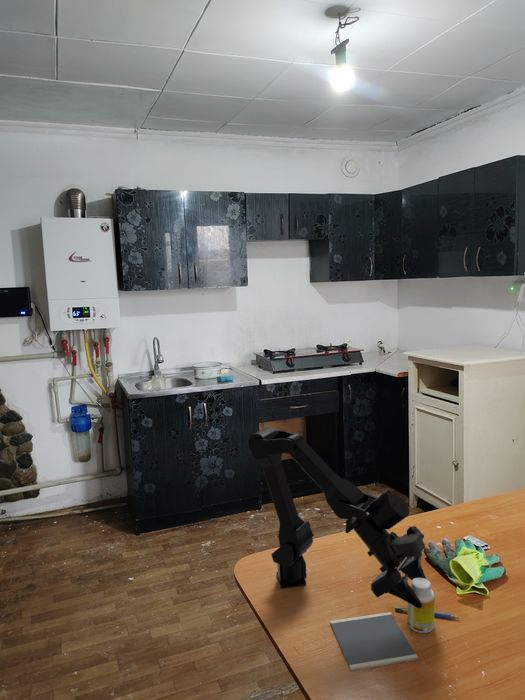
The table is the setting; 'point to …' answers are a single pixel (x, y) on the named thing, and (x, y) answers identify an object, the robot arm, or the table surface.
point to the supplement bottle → (423, 616)
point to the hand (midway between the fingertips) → (425, 599)
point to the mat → (372, 641)
